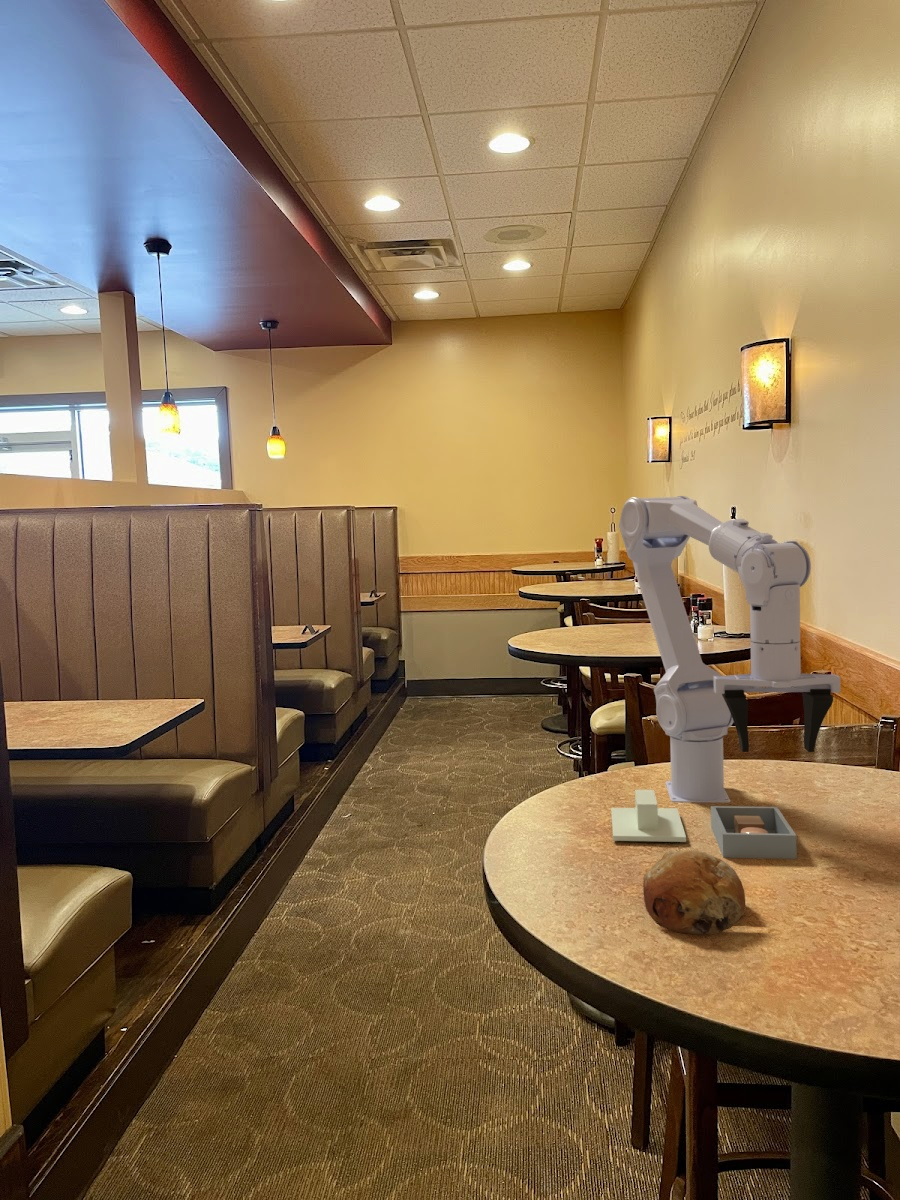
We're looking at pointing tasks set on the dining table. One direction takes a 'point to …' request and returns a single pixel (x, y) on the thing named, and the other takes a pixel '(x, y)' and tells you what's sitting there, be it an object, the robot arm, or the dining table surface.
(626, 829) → the lid
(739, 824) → the walnut block
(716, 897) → the bread roll
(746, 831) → the light brown rounded piece
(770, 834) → the box
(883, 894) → the dining table surface
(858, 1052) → the dining table surface
